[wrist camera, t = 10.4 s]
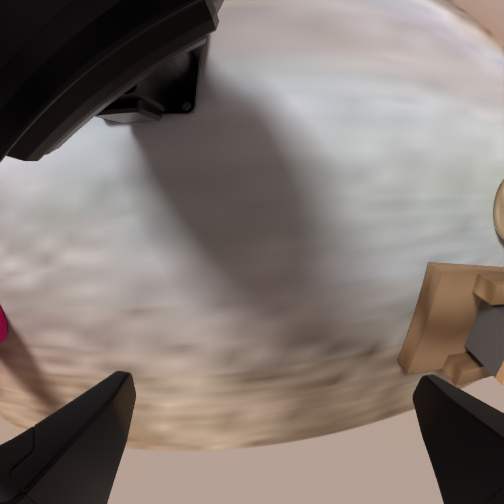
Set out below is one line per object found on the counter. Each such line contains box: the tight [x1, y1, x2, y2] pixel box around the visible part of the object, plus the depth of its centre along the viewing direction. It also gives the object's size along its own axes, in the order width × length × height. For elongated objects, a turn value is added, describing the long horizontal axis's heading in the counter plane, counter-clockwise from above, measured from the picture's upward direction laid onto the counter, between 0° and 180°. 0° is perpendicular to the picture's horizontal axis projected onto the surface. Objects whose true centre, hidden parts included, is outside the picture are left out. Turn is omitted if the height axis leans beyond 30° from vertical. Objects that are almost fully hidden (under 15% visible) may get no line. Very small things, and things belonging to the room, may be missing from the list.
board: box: [398, 262, 504, 386], centre depth 19 cm, size 9×11×4 cm
